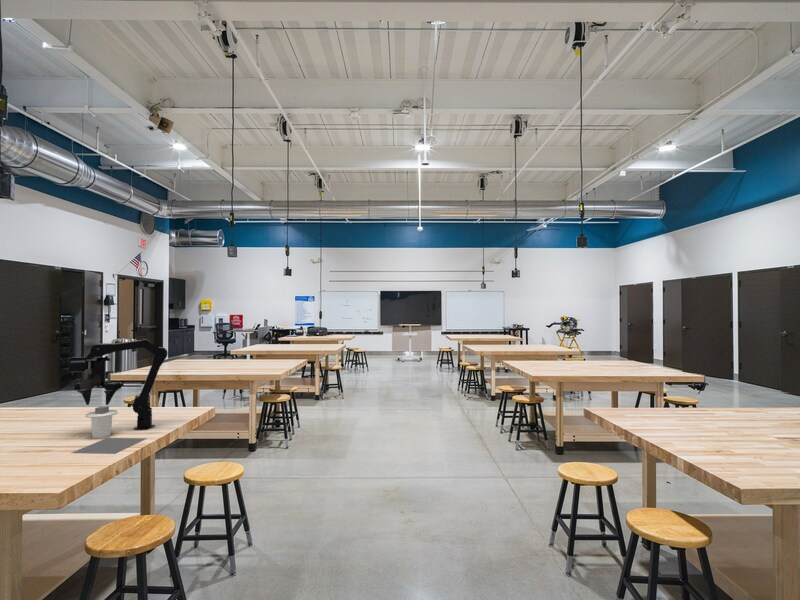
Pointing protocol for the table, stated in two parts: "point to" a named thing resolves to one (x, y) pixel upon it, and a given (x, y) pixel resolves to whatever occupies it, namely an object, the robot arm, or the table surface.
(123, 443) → the charcoal mat
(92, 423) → the white cup
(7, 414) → the table surface
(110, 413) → the lid
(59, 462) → the table surface
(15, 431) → the table surface
